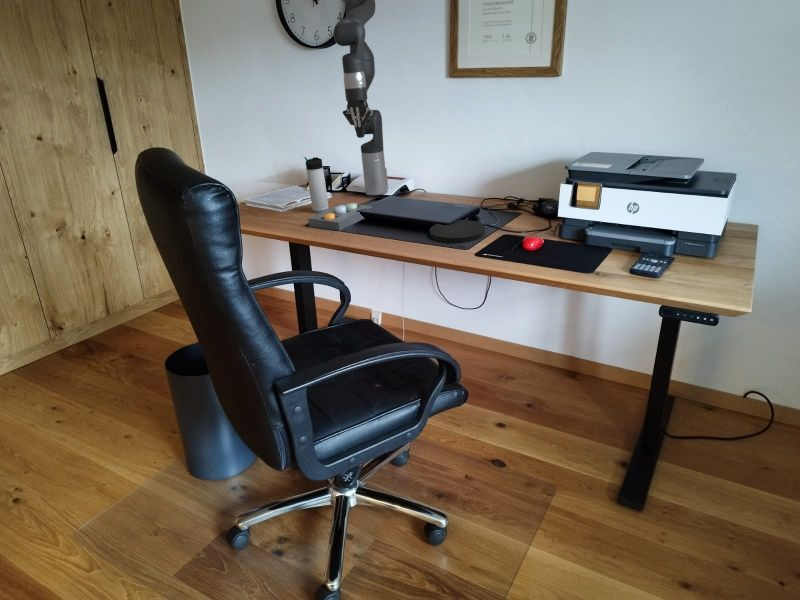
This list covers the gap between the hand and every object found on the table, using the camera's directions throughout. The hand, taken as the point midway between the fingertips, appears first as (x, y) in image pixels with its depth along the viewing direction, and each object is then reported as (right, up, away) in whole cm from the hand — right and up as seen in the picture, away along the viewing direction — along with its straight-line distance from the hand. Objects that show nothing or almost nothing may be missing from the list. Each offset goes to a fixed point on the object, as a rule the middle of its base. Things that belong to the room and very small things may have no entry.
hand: (360, 137), depth 201 cm
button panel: (-7, -30, +2) cm, 30 cm away
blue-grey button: (-7, -28, +2) cm, 29 cm away
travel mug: (-17, -24, +16) cm, 33 cm away
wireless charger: (+33, -38, -21) cm, 54 cm away
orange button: (-11, -32, -3) cm, 33 cm away
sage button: (-4, -26, +7) cm, 28 cm away
